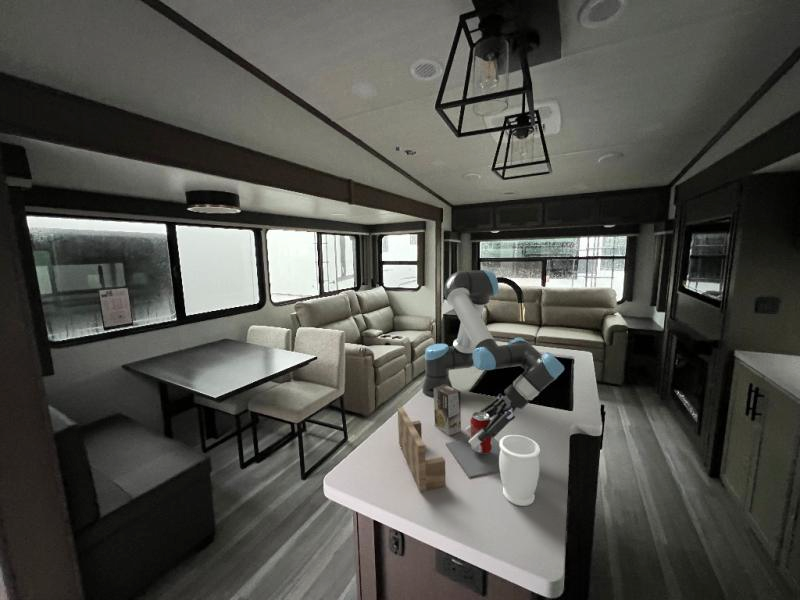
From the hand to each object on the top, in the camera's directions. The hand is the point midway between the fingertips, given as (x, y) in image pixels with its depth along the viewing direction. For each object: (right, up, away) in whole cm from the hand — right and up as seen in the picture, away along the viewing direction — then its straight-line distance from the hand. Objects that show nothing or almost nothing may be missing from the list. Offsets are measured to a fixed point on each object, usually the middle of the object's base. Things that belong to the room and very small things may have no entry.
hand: (470, 438), depth 104 cm
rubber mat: (+4, -6, 0) cm, 7 cm away
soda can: (+4, -4, 0) cm, 6 cm away
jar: (+9, -8, -18) cm, 22 cm away
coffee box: (-5, -4, +18) cm, 19 cm away
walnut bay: (-17, -7, -3) cm, 19 cm away
